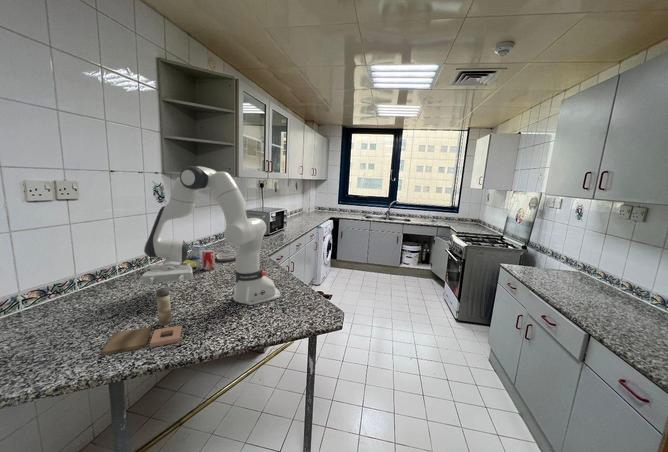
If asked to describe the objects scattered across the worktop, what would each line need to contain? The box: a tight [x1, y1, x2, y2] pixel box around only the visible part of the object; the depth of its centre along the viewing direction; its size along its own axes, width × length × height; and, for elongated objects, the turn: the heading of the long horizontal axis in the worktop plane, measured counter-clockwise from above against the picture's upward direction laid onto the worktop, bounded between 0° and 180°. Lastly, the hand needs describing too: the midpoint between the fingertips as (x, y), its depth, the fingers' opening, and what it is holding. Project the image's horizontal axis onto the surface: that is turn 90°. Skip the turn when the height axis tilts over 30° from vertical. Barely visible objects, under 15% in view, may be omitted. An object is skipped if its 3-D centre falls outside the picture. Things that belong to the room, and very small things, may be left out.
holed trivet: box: [149, 325, 183, 348], centre depth 102 cm, size 9×9×2 cm
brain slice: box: [215, 250, 237, 263], centre depth 198 cm, size 20×17×3 cm
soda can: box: [201, 248, 216, 271], centre depth 174 cm, size 7×7×12 cm
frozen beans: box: [143, 259, 203, 271], centre depth 171 cm, size 21×6×25 cm
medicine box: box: [191, 244, 205, 260], centre depth 196 cm, size 8×4×9 cm, turn 68°
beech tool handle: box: [155, 287, 173, 326], centre depth 111 cm, size 4×4×14 cm
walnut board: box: [101, 326, 153, 356], centre depth 99 cm, size 12×12×1 cm
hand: (166, 281), depth 121 cm, fingers open, 8 cm apart
